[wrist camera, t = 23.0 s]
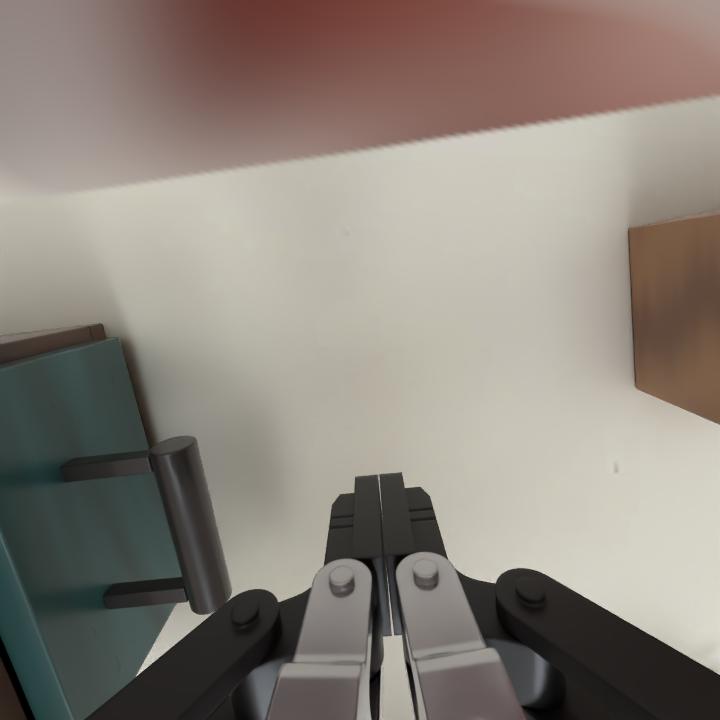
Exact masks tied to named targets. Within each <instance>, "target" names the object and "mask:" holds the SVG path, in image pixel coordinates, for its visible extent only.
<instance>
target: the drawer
mask: <svg viewBox="0 0 720 720" xmlns="http://www.w3.org/2000/svg"><path fill="white" fill-rule="evenodd" d="M231 592H232V587H231V583H230V579H229V575H228V571H227V566H226V562H225V558H224V554H223V549H222V545H221V541H220V537H219V533H218V528H217V524H216V520H215V516H214V511H213V507H212V503H211V499H210V495H209V490H208V486H207V482H206V478H205V473H204V469H203V465H202V461H201V457H200V452H199V448H198V444H197V440H196V438H195V437H193V436H179V437H174V438H170V439H167V440H165V441H162V442H160V443H158V444H156V445H155V446H153V447H152V448H151V449H150V450H149V447H148V443H147V439H146V436H145V432H144V428H143V425H142V421H141V417H140V414H139V410H138V406H137V402H136V399H135V395H134V391H133V388H132V384H131V380H130V376H129V373H128V369H127V365H126V362H125V358H124V354H123V350H122V347H121V343H120V339H119V338H108V339H100V340H92V341H88V342H84V343H80V344H77V345H73V346H69V347H65V348H61V349H57V350H53V351H50V352H46V353H42V354H38V355H34V356H30V357H26V358H23V359H19V360H15V361H11V362H7V363H3V364H0V656H1V658H2V661H3V663H4V665H5V668H6V670H7V672H8V675H9V677H10V679H11V682H12V684H13V686H14V689H15V691H16V693H17V696H18V698H19V701H20V703H21V705H22V708H23V710H24V712H25V715H26V717H27V719H29V718H30V717H31V715H32V714H33V715H34V717H35V720H84V719H86V718H87V717H88V716H89V715H91V714H92V713H93V712H94V711H95V710H97V709H98V708H99V707H100V706H101V705H103V704H104V703H105V702H106V701H108V700H109V699H110V698H111V697H112V696H114V695H115V694H116V693H117V692H118V691H120V690H121V689H122V688H123V687H125V686H126V685H127V684H128V683H129V682H131V681H132V680H133V679H134V678H135V677H136V675H137V673H138V671H139V669H140V668H141V666H142V664H143V662H144V660H145V659H146V657H147V655H148V653H149V651H150V650H151V648H152V646H153V644H154V643H155V641H156V639H157V637H158V635H159V634H160V632H161V630H162V628H163V626H164V625H165V623H166V621H167V619H168V617H169V616H170V614H171V612H172V610H173V608H174V607H175V605H176V603H183V602H187V601H188V600H189V603H190V607H191V610H192V611H193V612H194V613H196V614H199V615H205V614H210V613H212V612H215V611H216V610H218V609H219V608H220V607H222V606H223V605H224V604H225V603H226V602H227V601H228V600H229V598H230V596H231Z"/></svg>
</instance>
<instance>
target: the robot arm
mask: <svg viewBox="0 0 720 720" xmlns="http://www.w3.org/2000/svg"><path fill="white" fill-rule="evenodd" d="M379 475H380V489H381V500H380V491H379V482H378V475H369V476H358V477H355V492H354V493H349V494H340V495H339V496H338V498H337V499H336V500H335V502H334V503H333V505H332V509H331V519H330V524H329V532H328V539H327V547H326V554H325V561H324V567H322V568H321V569H320V570H319V571H318V573H317V574H316V576H315V577H314V580H313V583H312V587H311V588H309V589H308V590H307V591H305V592H303V593H302V594H299V595H297V596H295V597H292V598H289V599H287V600H284V601H281V602H279V603H278V601H277V599H276V597H275V596H274V595H273V594H272V593H271V592H269V591H266V590H262V589H254V590H248V591H245V592H242V593H240V594H238V595H236V596H235V597H233V598H232V599H230V600H229V601H228V602H226V603H225V604H224V605H223V606H222V607H220V608H219V609H218V610H217V611H215V612H214V613H213V614H212V615H211V616H209V617H208V618H207V619H206V620H205V621H203V622H202V623H201V624H200V625H198V626H197V627H196V628H195V629H194V630H192V631H191V632H190V633H189V634H188V635H186V636H185V637H184V638H183V639H182V640H180V641H179V642H178V643H177V644H175V645H174V646H173V647H172V648H171V649H169V650H168V651H167V652H166V653H165V654H163V655H162V656H161V657H160V658H158V659H157V660H156V661H155V662H154V663H152V664H151V665H150V666H149V667H148V668H146V669H145V670H144V671H143V672H141V673H140V674H139V675H138V676H137V677H135V678H134V679H133V680H132V681H131V682H129V683H128V684H127V685H126V686H125V687H123V688H122V689H121V690H120V691H118V692H117V693H116V694H115V695H114V696H112V697H111V698H110V699H109V700H108V701H106V702H105V703H104V704H103V705H101V706H100V707H99V708H98V709H97V710H95V711H94V712H93V713H92V714H91V715H89V716H88V717H87V718H86V719H84V720H382V702H383V664H382V663H383V658H384V647H383V636H392V634H391V621H390V607H389V594H388V583H389V592H390V601H391V610H392V619H393V628H394V635H402V640H403V649H404V658H405V668H406V675H407V680H408V686H409V692H410V697H411V703H412V709H413V714H414V720H720V675H719V674H717V673H715V672H713V671H712V670H710V669H708V668H707V667H705V666H703V665H701V664H700V663H698V662H696V661H694V660H693V659H691V658H689V657H687V656H686V655H684V654H682V653H680V652H679V651H677V650H675V649H674V648H672V647H670V646H668V645H667V644H665V643H663V642H661V641H660V640H658V639H656V638H654V637H653V636H651V635H649V634H648V633H646V632H644V631H642V630H641V629H639V628H637V627H635V626H634V625H632V624H630V623H628V622H627V621H625V620H623V619H621V618H620V617H618V616H616V615H615V614H613V613H611V612H609V611H608V610H606V609H604V608H602V607H601V606H599V605H597V604H595V603H594V602H592V601H590V600H588V599H587V598H585V597H583V596H582V595H580V594H578V593H576V592H575V591H573V590H571V589H569V588H568V587H566V586H564V585H562V584H561V583H559V582H557V581H556V580H554V579H552V578H550V577H549V576H547V575H545V574H543V573H541V572H538V571H535V570H531V569H525V568H517V569H511V570H508V571H506V572H504V573H503V574H501V575H500V576H499V578H498V579H497V581H496V584H494V583H489V582H484V581H479V580H475V579H472V578H469V577H467V576H465V575H463V574H461V573H460V572H458V571H457V570H456V569H455V568H454V566H453V565H452V564H451V562H450V561H449V560H448V558H447V555H446V551H445V548H444V544H443V541H442V537H441V534H440V530H439V527H438V523H437V520H436V516H435V513H434V510H433V506H432V502H431V499H430V496H429V495H428V494H427V493H426V492H425V491H424V490H423V489H422V488H421V487H413V488H404V482H403V477H402V472H400V473H389V474H379ZM381 503H382V509H381ZM382 516H383V519H382ZM386 566H387V567H386ZM387 574H388V581H387Z"/></svg>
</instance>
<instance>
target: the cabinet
mask: <svg viewBox="0 0 720 720" xmlns="http://www.w3.org/2000/svg"><path fill="white" fill-rule="evenodd" d="M100 339H106V338H105V334H104V330H103V327H102V324H100V323H99V324H91V325H83V326H75V327H67V328H58V329H50V330H42V331H34V332H26V333H17V334H9V335H1V336H0V364H3V363H7V362H11V361H15V360H19V359H23V358H26V357H30V356H34V355H38V354H42V353H46V352H50V351H53V350H57V349H61V348H65V347H69V346H73V345H77V344H80V343H84V342H88V341H92V340H100ZM0 720H35V717H34V715H33V714H32V715H31V717H30V718H29V719H27V717H26V715H25V712H24V710H23V708H22V705H21V703H20V701H19V698H18V696H17V693H16V691H15V689H14V686H13V684H12V682H11V679H10V677H9V675H8V672H7V670H6V668H5V665H4V663H3V661H2V658H1V656H0Z"/></svg>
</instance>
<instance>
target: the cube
mask: <svg viewBox="0 0 720 720" xmlns="http://www.w3.org/2000/svg"><path fill="white" fill-rule="evenodd" d="M629 244H630V266H631V287H632V309H633V331H634V353H635V375H636V388H637V389H638V390H641V391H643V392H645V393H648V394H650V395H652V396H655V397H657V398H659V399H661V400H664V401H666V402H668V403H671V404H673V405H675V406H678V407H680V408H682V409H685V410H687V411H689V412H692V413H694V414H696V415H699V416H701V417H703V418H706V419H708V420H710V421H713V422H715V423H717V424H719V425H720V209H716V210H712V211H707V212H702V213H698V214H693V215H688V216H684V217H679V218H674V219H670V220H665V221H660V222H655V223H651V224H646V225H641V226H637V227H632V228H630V229H629Z"/></svg>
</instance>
